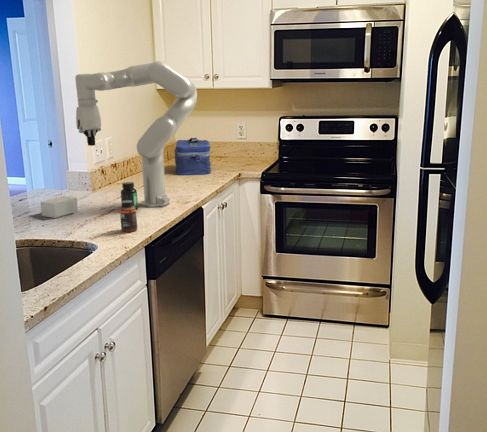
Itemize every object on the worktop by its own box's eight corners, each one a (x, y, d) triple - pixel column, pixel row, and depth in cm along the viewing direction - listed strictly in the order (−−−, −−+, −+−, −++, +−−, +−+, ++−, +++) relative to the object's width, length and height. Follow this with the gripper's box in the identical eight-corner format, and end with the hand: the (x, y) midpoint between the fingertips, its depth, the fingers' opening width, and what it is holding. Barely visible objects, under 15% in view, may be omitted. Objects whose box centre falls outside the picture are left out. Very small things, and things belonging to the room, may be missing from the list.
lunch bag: (213, 175, 322) (211, 139, 317) (176, 177, 319) (174, 141, 314) (208, 167, 351) (207, 134, 346) (175, 168, 349) (173, 135, 344)
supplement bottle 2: (138, 228, 214) (136, 199, 211) (136, 232, 208) (133, 202, 205) (122, 228, 214) (120, 199, 211) (120, 232, 208) (117, 203, 205)
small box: (65, 209, 246) (41, 216, 235) (63, 195, 244) (39, 201, 233) (78, 211, 242) (55, 218, 231) (77, 197, 240) (53, 203, 229)
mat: (73, 213, 239) (73, 213, 239) (43, 220, 229) (43, 219, 229) (59, 209, 247) (59, 209, 247) (29, 216, 237) (29, 215, 237)
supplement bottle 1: (140, 210, 242) (138, 183, 239) (124, 212, 239) (122, 185, 236) (135, 207, 248) (133, 180, 245) (120, 209, 244) (117, 182, 241)
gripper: (96, 102, 251) (100, 143, 255) (67, 104, 240) (72, 147, 244) (106, 102, 246) (110, 143, 250) (76, 104, 235) (81, 147, 239)
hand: (91, 145), depth 247 cm, fingers closed
